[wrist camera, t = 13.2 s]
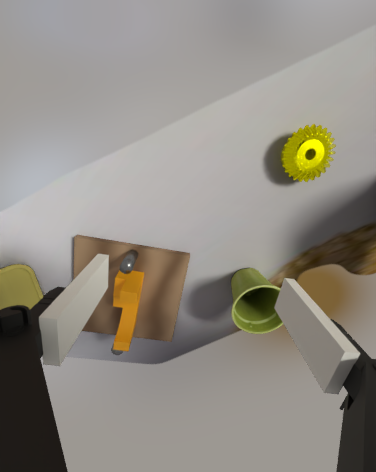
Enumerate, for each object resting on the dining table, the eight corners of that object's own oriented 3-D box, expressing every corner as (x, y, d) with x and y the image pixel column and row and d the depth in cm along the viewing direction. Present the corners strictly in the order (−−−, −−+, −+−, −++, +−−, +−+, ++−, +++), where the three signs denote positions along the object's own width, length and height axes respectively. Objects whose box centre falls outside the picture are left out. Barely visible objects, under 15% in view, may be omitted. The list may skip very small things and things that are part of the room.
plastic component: (-52, 276, 37) (-24, 279, 33) (-1, 258, 44) (29, 259, 39) (-4, 368, 43) (25, 383, 38) (35, 340, 49) (64, 350, 45)
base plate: (189, 253, 40) (189, 256, 39) (171, 337, 46) (171, 341, 45) (77, 234, 38) (74, 237, 37) (75, 325, 44) (72, 329, 43)
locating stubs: (139, 250, 38) (133, 263, 33) (128, 334, 44) (122, 355, 40) (127, 248, 38) (120, 261, 33) (118, 333, 44) (110, 354, 39)
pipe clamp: (120, 268, 39) (109, 288, 33) (144, 272, 39) (137, 293, 33) (113, 321, 43) (102, 348, 37) (135, 324, 43) (128, 351, 37)
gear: (268, 141, 34) (282, 188, 36) (278, 139, 30) (293, 191, 33) (318, 117, 33) (329, 167, 35) (334, 112, 29) (345, 168, 32)
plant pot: (250, 308, 45) (266, 342, 36) (212, 288, 43) (220, 320, 34) (279, 274, 42) (303, 302, 34) (240, 251, 40) (256, 275, 32)
